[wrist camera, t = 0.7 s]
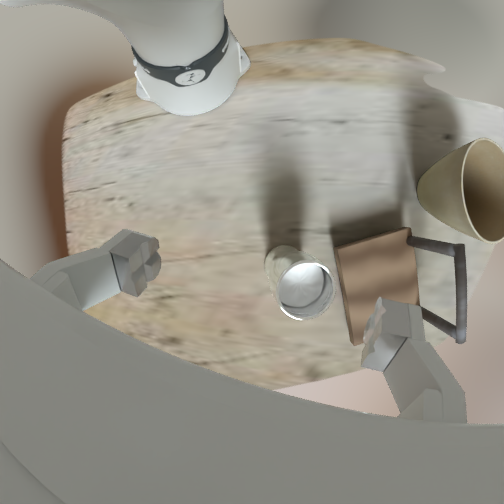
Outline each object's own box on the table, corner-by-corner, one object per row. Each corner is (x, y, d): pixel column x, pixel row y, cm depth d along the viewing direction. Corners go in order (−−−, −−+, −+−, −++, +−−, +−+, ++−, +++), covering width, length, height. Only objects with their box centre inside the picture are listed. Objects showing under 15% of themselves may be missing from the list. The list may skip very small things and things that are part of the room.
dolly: (328, 245, 45) (378, 266, 28) (398, 225, 45) (465, 234, 28) (345, 335, 47) (389, 388, 30) (409, 310, 47) (467, 347, 30)
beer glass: (272, 293, 45) (288, 332, 31) (254, 253, 44) (262, 275, 30) (312, 275, 45) (346, 304, 31) (295, 234, 44) (324, 247, 29)
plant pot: (431, 250, 46) (491, 265, 30) (385, 189, 44) (445, 183, 28) (468, 196, 45) (527, 196, 29) (428, 136, 43) (486, 118, 27)
